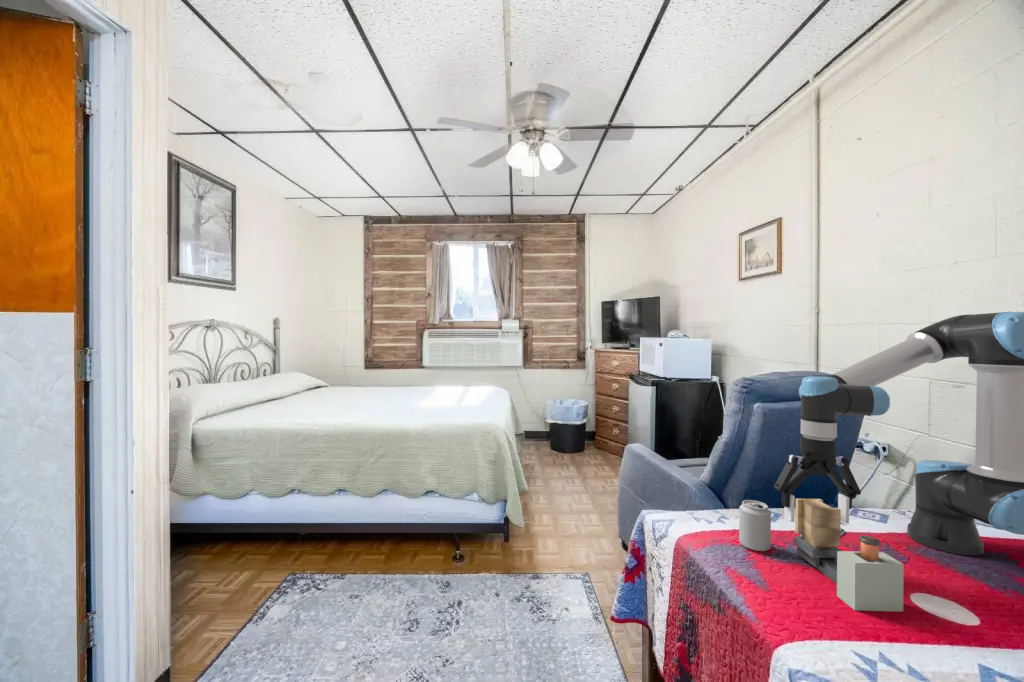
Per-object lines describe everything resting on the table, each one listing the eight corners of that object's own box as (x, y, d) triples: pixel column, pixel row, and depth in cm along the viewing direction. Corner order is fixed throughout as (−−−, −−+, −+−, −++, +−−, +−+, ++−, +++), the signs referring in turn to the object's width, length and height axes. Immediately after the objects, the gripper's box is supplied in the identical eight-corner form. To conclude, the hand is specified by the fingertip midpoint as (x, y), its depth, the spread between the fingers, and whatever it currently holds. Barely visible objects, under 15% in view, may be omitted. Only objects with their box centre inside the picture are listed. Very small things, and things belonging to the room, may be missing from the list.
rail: (813, 557, 110) (813, 545, 110) (866, 596, 93) (866, 583, 93) (801, 556, 110) (801, 545, 110) (852, 596, 93) (852, 582, 93)
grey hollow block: (882, 597, 93) (882, 552, 93) (903, 611, 88) (903, 564, 88) (836, 595, 93) (837, 551, 93) (854, 610, 88) (855, 563, 88)
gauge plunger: (870, 553, 92) (871, 535, 92) (884, 561, 88) (884, 543, 88) (855, 553, 92) (855, 535, 92) (868, 561, 89) (868, 542, 89)
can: (775, 555, 111) (775, 510, 111) (744, 552, 112) (744, 507, 112) (764, 541, 118) (764, 499, 118) (735, 539, 119) (735, 497, 119)
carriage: (820, 553, 110) (821, 498, 110) (841, 567, 103) (841, 509, 103) (793, 552, 110) (794, 498, 110) (812, 567, 103) (813, 509, 103)
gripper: (855, 435, 110) (854, 515, 110) (760, 432, 110) (758, 512, 110) (880, 442, 102) (878, 528, 102) (777, 439, 103) (775, 525, 103)
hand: (816, 520), depth 106 cm, fingers open, 13 cm apart
